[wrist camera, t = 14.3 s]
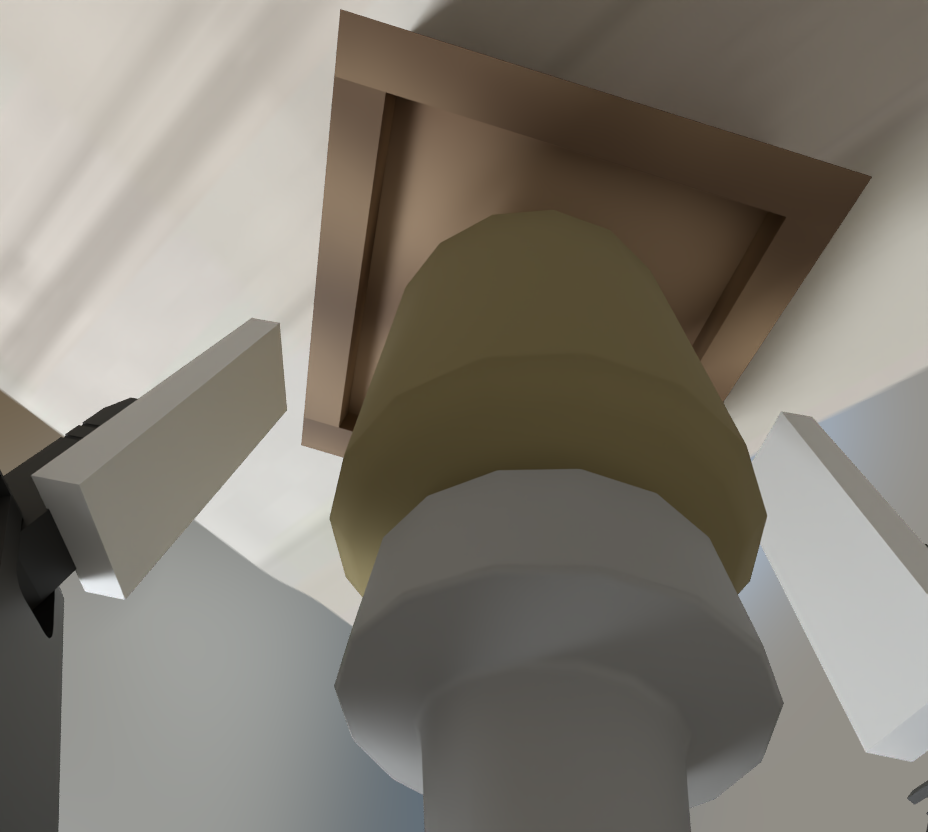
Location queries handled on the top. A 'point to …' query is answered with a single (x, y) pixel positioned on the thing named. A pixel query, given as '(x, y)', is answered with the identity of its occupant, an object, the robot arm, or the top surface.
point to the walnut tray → (543, 201)
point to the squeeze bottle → (550, 546)
